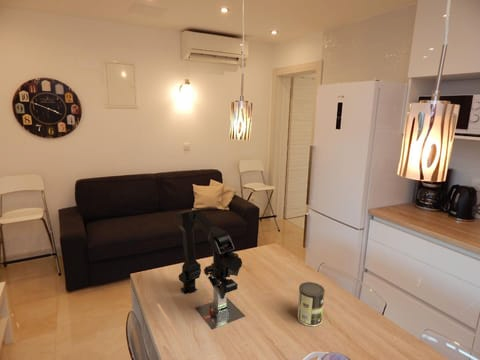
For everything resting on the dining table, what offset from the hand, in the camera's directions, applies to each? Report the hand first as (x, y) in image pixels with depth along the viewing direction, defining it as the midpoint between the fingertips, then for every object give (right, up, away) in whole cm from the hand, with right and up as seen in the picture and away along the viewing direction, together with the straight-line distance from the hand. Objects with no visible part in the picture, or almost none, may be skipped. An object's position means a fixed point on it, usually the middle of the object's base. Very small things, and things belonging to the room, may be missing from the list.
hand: (219, 296), depth 131 cm
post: (0, -4, +1) cm, 4 cm away
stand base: (0, -8, +2) cm, 9 cm away
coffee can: (+38, -10, 0) cm, 39 cm away
